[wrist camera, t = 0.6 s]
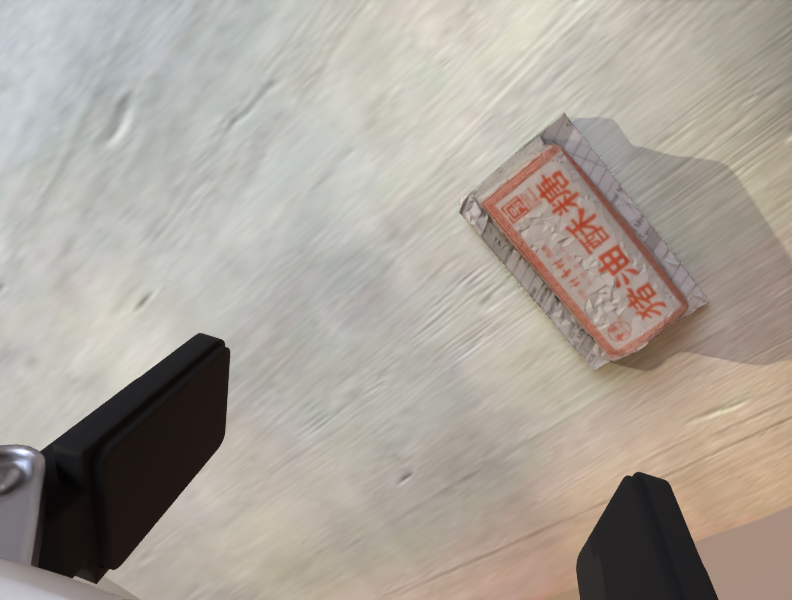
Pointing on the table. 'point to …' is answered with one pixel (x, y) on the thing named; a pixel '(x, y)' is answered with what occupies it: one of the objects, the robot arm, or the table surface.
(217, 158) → the table surface
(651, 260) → the packaged product
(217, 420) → the robot arm
